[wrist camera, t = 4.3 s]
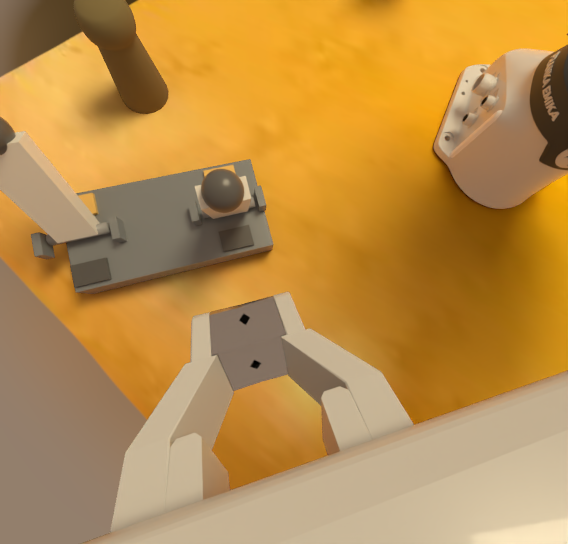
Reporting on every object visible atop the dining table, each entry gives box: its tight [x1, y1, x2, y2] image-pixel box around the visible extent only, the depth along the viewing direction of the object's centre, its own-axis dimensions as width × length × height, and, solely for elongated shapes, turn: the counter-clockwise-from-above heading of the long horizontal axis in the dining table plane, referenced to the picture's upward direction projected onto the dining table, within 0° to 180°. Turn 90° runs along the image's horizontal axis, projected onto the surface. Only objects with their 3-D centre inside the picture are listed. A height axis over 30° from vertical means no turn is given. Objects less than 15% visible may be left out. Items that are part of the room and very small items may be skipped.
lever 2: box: [195, 169, 255, 219], centre depth 25 cm, size 3×6×13 cm, turn 105°
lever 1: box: [0, 117, 111, 246], centre depth 24 cm, size 3×6×13 cm
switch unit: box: [31, 159, 273, 294], centre depth 31 cm, size 11×24×5 cm, turn 105°
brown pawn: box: [74, 0, 168, 114], centre depth 30 cm, size 6×6×11 cm
